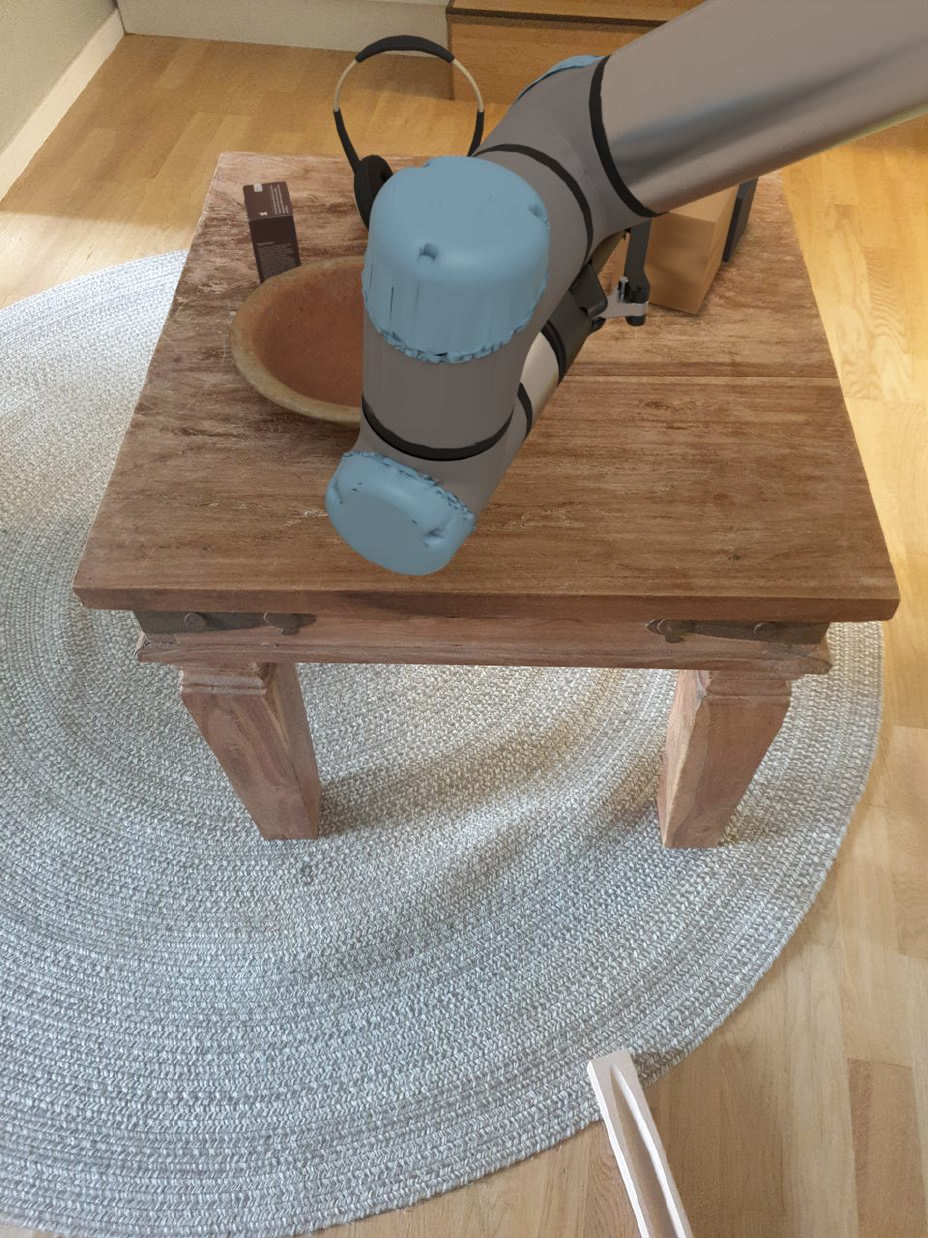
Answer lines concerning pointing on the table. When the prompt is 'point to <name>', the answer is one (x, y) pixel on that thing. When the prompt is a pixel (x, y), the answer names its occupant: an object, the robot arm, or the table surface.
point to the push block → (684, 251)
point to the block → (739, 216)
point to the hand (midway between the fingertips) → (637, 155)
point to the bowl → (306, 339)
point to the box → (271, 228)
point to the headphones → (373, 167)
